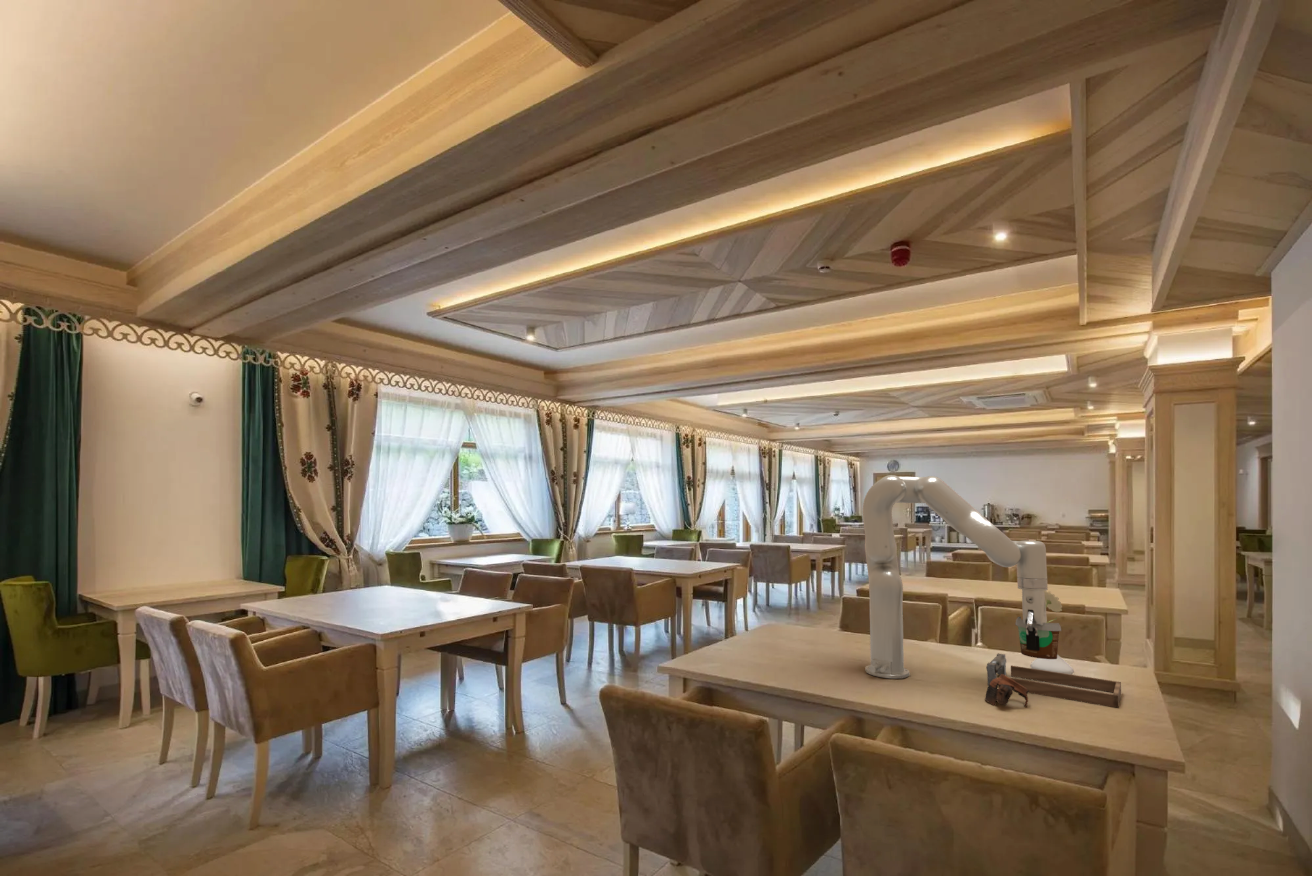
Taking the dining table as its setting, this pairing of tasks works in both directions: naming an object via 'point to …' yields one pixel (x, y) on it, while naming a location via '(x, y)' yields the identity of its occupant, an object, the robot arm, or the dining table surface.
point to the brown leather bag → (1004, 690)
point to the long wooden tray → (1069, 680)
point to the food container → (1040, 639)
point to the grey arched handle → (996, 667)
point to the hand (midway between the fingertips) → (1035, 647)
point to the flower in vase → (1059, 663)
